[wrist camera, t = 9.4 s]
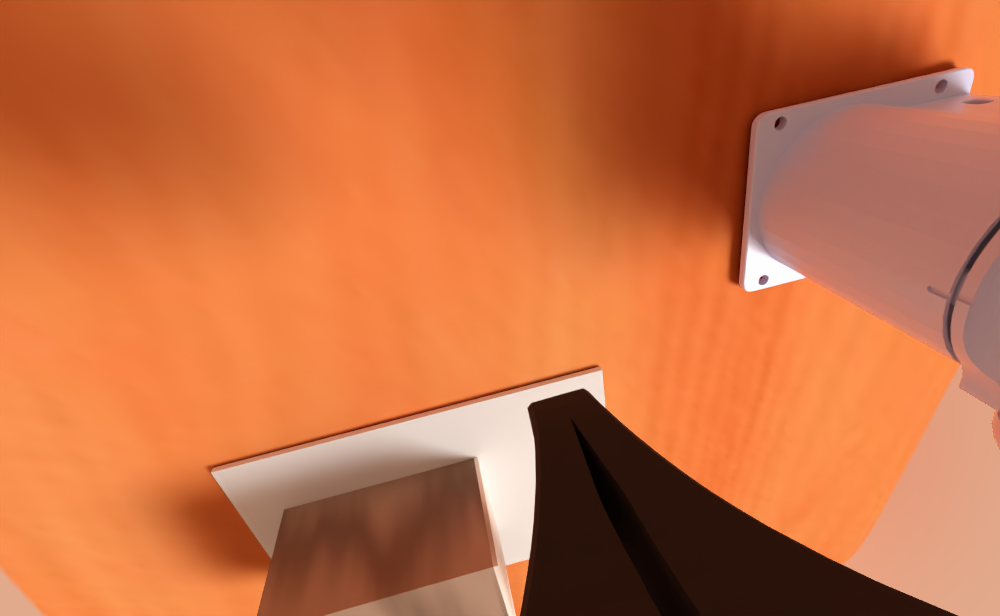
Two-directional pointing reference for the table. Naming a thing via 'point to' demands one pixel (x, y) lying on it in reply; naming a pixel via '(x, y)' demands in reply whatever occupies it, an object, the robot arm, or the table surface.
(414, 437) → the mat
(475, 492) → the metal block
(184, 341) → the table surface
